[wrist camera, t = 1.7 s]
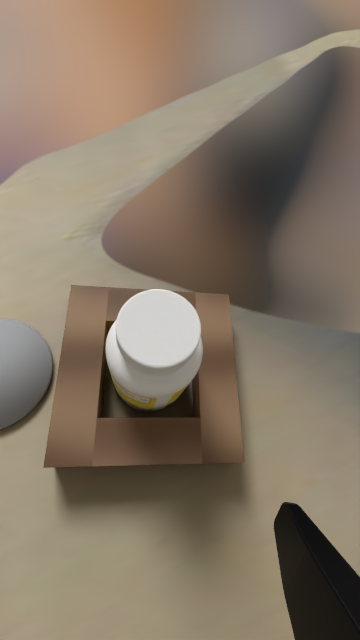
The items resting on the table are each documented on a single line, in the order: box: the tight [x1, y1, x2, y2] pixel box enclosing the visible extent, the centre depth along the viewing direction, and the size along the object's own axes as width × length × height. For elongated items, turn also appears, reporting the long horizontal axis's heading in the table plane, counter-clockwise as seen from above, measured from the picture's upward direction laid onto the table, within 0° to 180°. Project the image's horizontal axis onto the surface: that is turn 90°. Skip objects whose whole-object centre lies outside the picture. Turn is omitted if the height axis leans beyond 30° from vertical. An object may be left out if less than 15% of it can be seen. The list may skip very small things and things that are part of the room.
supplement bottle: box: [105, 289, 203, 412], centre depth 18 cm, size 5×5×10 cm
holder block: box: [43, 285, 244, 468], centre depth 21 cm, size 12×12×2 cm
